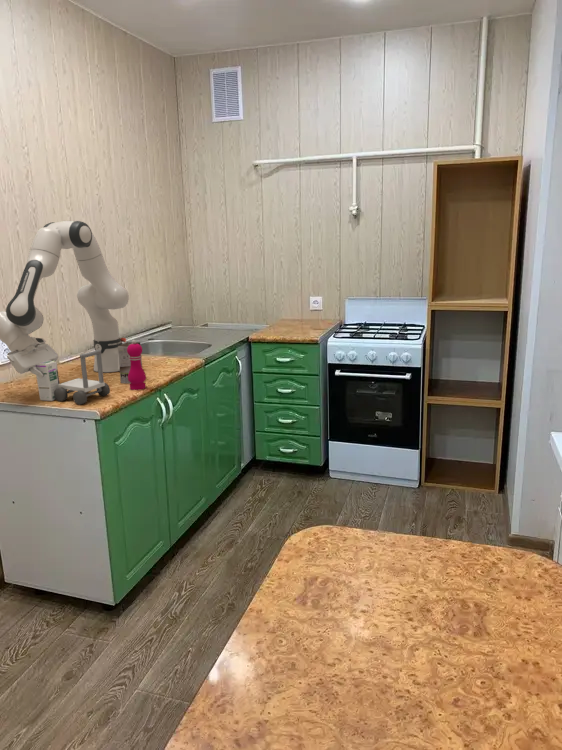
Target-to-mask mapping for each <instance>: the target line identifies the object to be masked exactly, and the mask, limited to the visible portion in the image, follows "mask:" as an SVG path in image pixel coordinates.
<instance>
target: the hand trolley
mask: <svg viewBox="0 0 562 750" xmlns="http://www.w3.org/2000/svg"><path fill="white" fill-rule="evenodd" d="M95 355H96V356H97V366H98V372H97V374H98V380H93V379H88V373H87V372H88V371H87V363H86V358H89V357H95ZM79 358H80V367H81V376H82V378H80V377H78V378H75V379H72V380H71V379H70V380H68V381H65V382H62V383H60V384H58V389H56V390H55V391H54V396H55V398H56V399H55V400H57V402H64V401H66V400H67V399H68V396H69V395H68V394H70V393H73V392H74V393H73V396H72V398H73V402H74V403H75V404H76V405H78V406H81V405H83V404H86V403H87V401H88V397H90V396H92V395H95V394H98V395H99V396H100V397H105V396H108V395H109V394H110V393H111V388H110V385H109V384H108V383H107V382H105V381H104V372H103V369H102V359H101V350H96V351H95V350H93V351H88V352H86V353H81V354H79ZM93 390H94V391H93Z"/></svg>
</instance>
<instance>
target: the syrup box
mask: <svg viewBox="0 0 562 750" xmlns="http://www.w3.org/2000/svg"><path fill="white" fill-rule="evenodd" d="M35 367H36V368H37V370H39V371H40V372H41V371H42V372H43V373H44V374H45V375H44V377H42V378H39V377H38V376H37V375H35V376H36V381H37V382H36V383H37V388H38V393H39V394H38V395H39V400H40V401H45V402H46V401H47V402H52V401H54V400H56V398H55V396H54V391H55V390H56V389H58V384H61V383H60V375H59V369H58V368H59V367H58V361H57V360H56V361H45V362H41V363H38V365H36V366H35Z"/></svg>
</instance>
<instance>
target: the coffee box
mask: <svg viewBox="0 0 562 750" xmlns="http://www.w3.org/2000/svg"><path fill="white" fill-rule="evenodd" d="M130 344H132V341H130V342H129V341H126V342H123V343H122V345H119V346H118V354H119V367H120V371H119V377H120V383H121V384H131V383H130V382H129V381H128V374H129V371H130V368H131V362H130V360H129V356H130V355H129V354H128V353H127V348H128V346H129V345H130ZM136 344H139V345H141V342H140V341H136ZM142 359H143V358H142ZM142 359H141V366H142V367H143V362H142Z"/></svg>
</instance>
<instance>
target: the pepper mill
mask: <svg viewBox="0 0 562 750" xmlns="http://www.w3.org/2000/svg"><path fill="white" fill-rule="evenodd" d="M131 342H132V344H130V345H129V346H128V348H127V353H128V354H129V355H130V356H129V360H130V362H131V368H130V371H129V374H128V381H129V382H130V383H129V390H131V391H140V390H145V389H146V388H147V387H146V383H145V381H146V380H147V374H146V372H145V370H144V369H143V368H144V367H143V365H142V366H141V359H143V357H142V353H143V347H142V345H141V344H140V345H139V344H136V342H137V340H136V339H132V340H131Z"/></svg>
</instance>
